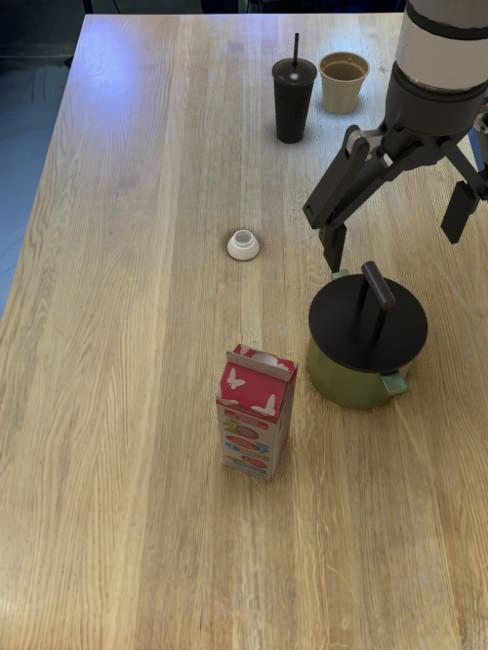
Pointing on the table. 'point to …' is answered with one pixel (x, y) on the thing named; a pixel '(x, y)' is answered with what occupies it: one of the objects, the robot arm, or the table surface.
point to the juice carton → (255, 409)
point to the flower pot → (342, 80)
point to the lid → (368, 322)
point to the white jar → (243, 245)
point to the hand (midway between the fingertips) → (390, 249)
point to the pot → (351, 378)
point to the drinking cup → (292, 95)
